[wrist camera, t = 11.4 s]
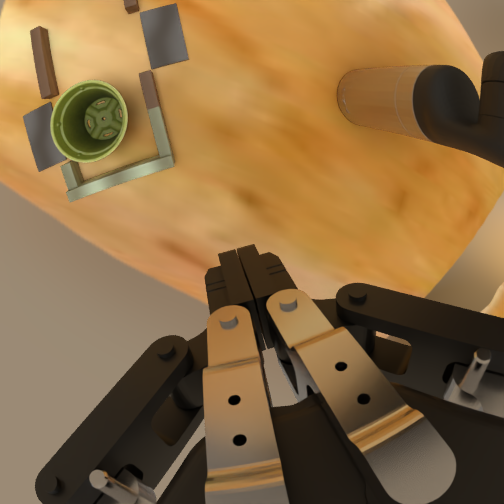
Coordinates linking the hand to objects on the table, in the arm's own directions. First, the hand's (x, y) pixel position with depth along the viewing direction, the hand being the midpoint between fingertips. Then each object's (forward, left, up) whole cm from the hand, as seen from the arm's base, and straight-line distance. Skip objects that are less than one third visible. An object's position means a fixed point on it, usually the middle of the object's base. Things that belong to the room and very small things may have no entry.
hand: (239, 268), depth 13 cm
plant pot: (+11, -9, -32) cm, 35 cm away
